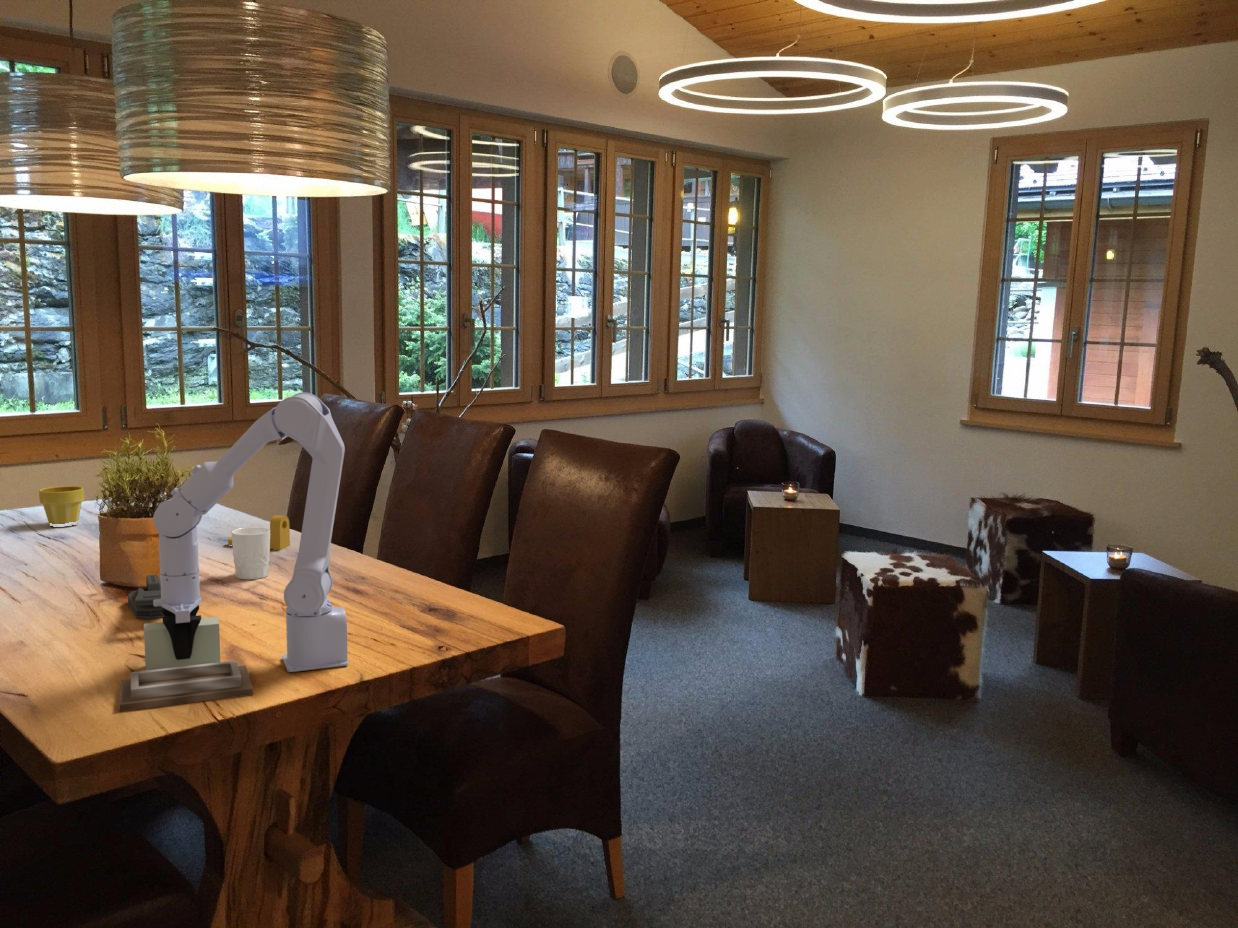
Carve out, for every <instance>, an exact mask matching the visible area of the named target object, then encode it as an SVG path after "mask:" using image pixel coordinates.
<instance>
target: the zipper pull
mask: <svg viewBox="0 0 1238 928" xmlns="http://www.w3.org/2000/svg"><path fill="white" fill-rule="evenodd" d="M145 580H146V581H145V582H146V583H145V585H146V587H138V588H137V590H133V591H132V592H130V593H129V594H127V606H128V607H129V609H130V610H131V612H132V614H133V615H134V617H135V618H136V620H157V619H162V617H165V616H164V614H163V613H162V608H163V607H161V606H156V607H155V606H153V600H155V599H161V583H160V578H159V575H158V574H150V575H149V574H147V575H146V577H145Z"/></svg>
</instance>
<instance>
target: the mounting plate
mask: <svg viewBox="0 0 1238 928" xmlns="http://www.w3.org/2000/svg"><path fill="white" fill-rule="evenodd" d="M119 683H120V686H119V687H120V688H119V712H125V711H126V712H127V711H134V710H135V711H136V710H141V709H142V710H144V709H151V708H158V707H167V706H174V705H182V704H191V703H198V702H206V701H214V700H215V701H216V700H222V699H232V698H239V697H245V696H246V697H247V696H253V695H254V688H253V684H252V681H251V678H250V674H249V670H248V667H247V665H238V661H237V660H229V661H228V660H227V661H220V662H217V663H208V664H199V665H190V666H182V667H173V668H164V669H155V670H146V669H145V670H138V671H130V678H125V679H120V682H119Z"/></svg>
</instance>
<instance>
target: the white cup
mask: <svg viewBox="0 0 1238 928" xmlns="http://www.w3.org/2000/svg"><path fill="white" fill-rule="evenodd" d="M231 537H232V546H233V547H232V555H233V564H234V575H235V578H236V579H240V580H249V581H250V580H258V579H264V578H266V577H268V576H269V570H270V569H269V564H270V554H271V550H270V528H267V527H261V526H258V527H256V526H255V527H253V526H252V527H243V528H242V527H241V528H236V529H233V530H232V531H231Z"/></svg>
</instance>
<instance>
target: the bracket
mask: <svg viewBox="0 0 1238 928" xmlns="http://www.w3.org/2000/svg"><path fill="white" fill-rule="evenodd" d="M269 529H270V549H273V550H272V551H275V550H281V551H283V550H282V549H284V548H286V547H288V546H290V547H291V541H290V540H291V539H290V538H291V537H290V533H291V532H290V531H291V530H290V520H289V517H288V516H287V515H272V517H271V519H270V521H269ZM228 545H232V536H230V537H228V538H227V546H228ZM286 549H287V548H286ZM284 550H285V549H284Z"/></svg>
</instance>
